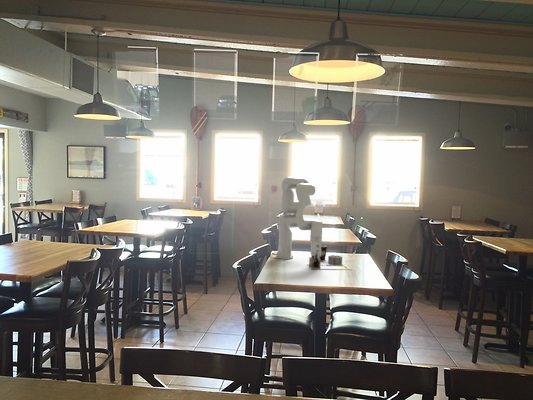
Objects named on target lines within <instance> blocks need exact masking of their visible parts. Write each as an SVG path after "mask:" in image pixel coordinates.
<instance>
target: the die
mask: <svg viewBox="0 0 533 400" xmlns="http://www.w3.org/2000/svg"><path fill="white" fill-rule="evenodd" d="M308 260H309V263H308V266H309V268H310V269H321V265H322V264H321V263H322V261H321V259H320V258H319V267H314V261H315V259H314V258H312V257H309V259H308Z"/></svg>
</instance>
